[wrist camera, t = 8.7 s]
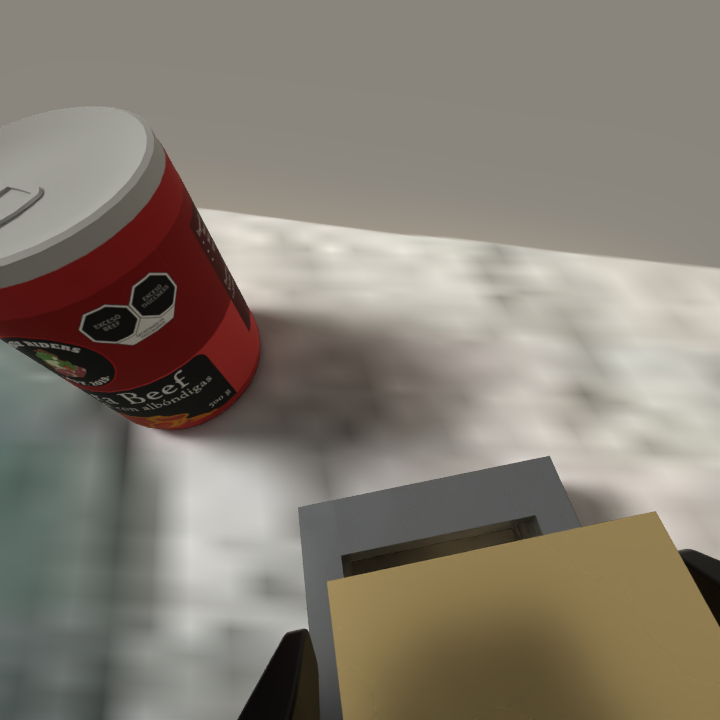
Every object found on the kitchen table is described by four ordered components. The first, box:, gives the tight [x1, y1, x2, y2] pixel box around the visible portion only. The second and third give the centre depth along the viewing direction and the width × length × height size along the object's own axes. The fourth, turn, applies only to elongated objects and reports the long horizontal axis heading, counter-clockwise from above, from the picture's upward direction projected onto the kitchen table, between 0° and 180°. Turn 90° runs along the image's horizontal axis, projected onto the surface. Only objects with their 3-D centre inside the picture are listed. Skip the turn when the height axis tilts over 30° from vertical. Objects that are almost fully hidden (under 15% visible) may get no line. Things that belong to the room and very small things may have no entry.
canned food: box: [0, 106, 260, 430], centre depth 16 cm, size 8×8×11 cm
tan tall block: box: [327, 511, 720, 720], centre depth 9 cm, size 5×5×11 cm
